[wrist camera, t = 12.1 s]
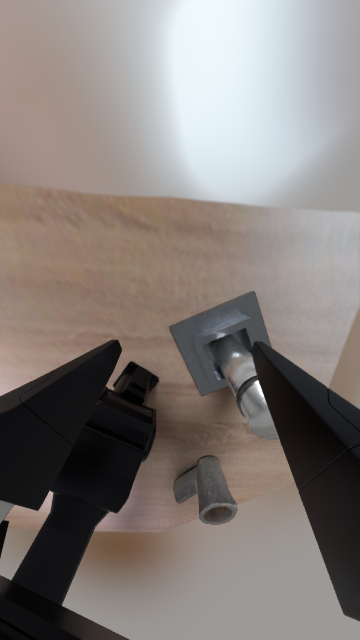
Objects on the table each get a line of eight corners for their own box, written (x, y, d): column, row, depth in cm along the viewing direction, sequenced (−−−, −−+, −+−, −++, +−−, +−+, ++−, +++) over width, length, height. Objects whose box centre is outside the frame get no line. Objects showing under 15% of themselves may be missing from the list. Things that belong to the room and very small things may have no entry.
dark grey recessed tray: (200, 392, 27) (204, 407, 24) (169, 326, 24) (168, 332, 21) (274, 364, 26) (288, 376, 23) (251, 291, 23) (264, 291, 19)
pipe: (170, 469, 32) (167, 527, 25) (215, 445, 31) (227, 498, 23) (185, 483, 34) (186, 543, 26) (229, 461, 32) (245, 516, 24)
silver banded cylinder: (226, 366, 25) (277, 449, 12) (205, 351, 24) (235, 424, 12) (245, 345, 24) (321, 411, 11) (223, 329, 23) (278, 381, 11)
